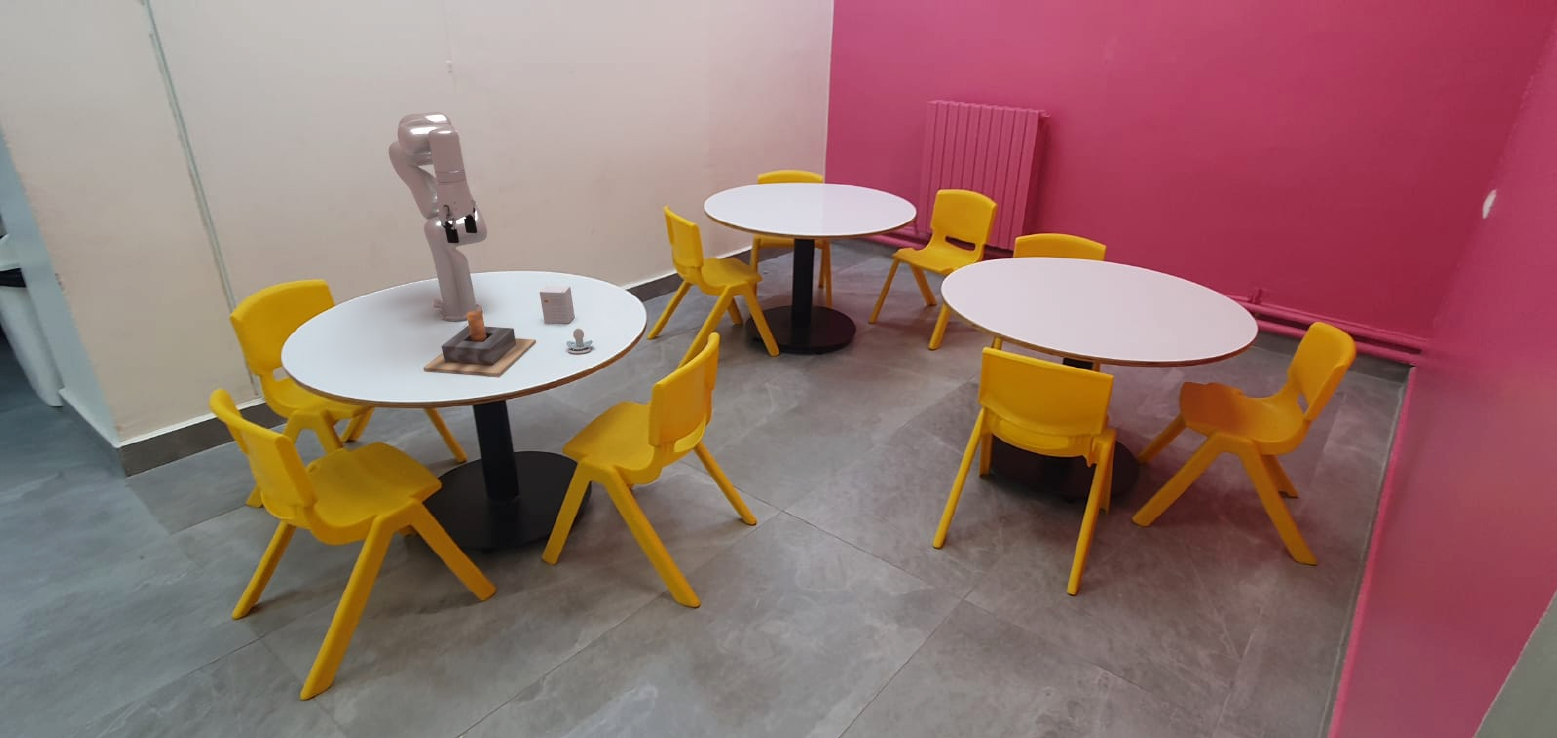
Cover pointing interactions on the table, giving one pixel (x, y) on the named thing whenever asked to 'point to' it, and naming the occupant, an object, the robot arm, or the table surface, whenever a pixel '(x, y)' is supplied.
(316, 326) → the table surface
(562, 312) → the small box
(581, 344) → the pacifier
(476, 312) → the peg
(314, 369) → the table surface
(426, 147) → the robot arm
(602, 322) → the table surface
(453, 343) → the socket
